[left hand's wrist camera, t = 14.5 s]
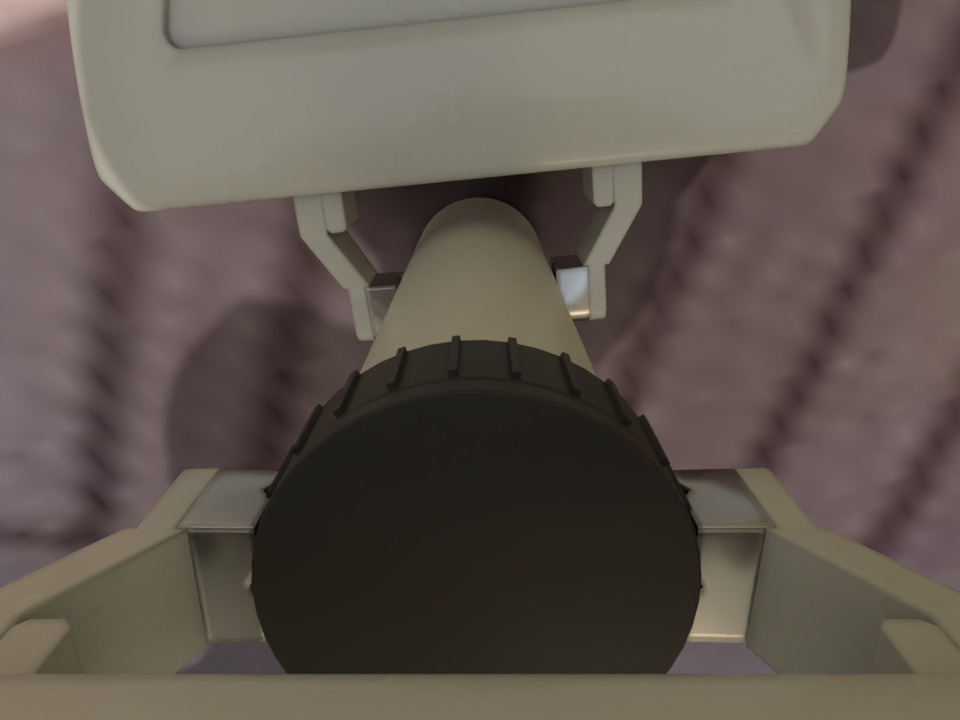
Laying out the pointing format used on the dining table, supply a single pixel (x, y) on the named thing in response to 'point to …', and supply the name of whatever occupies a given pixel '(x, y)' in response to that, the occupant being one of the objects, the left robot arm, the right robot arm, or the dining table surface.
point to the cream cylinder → (478, 287)
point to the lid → (476, 525)
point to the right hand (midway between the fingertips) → (482, 325)
